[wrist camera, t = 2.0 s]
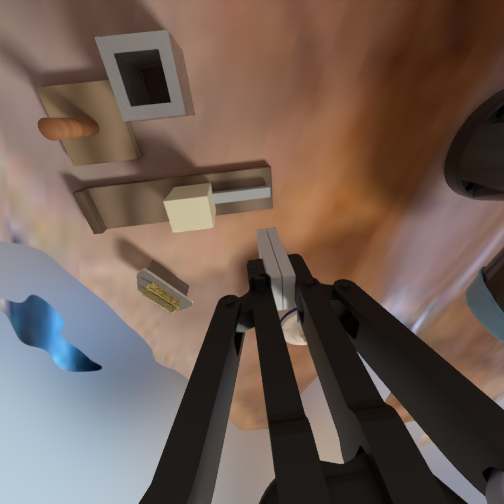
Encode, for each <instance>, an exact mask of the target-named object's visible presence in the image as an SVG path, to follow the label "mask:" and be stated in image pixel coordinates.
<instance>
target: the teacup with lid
mask: <svg viewBox="0 0 504 504" xmlns="http://www.w3.org/2000/svg"><path fill="white" fill-rule="evenodd" d="M278 314H279V318H280V322H281V326H282V329H283V333H284V337H285V341H286V342H288V343H291V344H294V345H306V344H307V342H306V339H305V336H304V333H303V330H302V327H301V324H300V321H299V323H297V306H296V303H295V308H293V309H285V310H284V309H283V310H278Z"/></svg>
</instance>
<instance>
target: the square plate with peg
mask: <svg viewBox="0 0 504 504" xmlns="http://www.w3.org/2000/svg"><path fill="white" fill-rule="evenodd" d="M35 89H36V91H37V93H38V95H39V97H40V99H41V101H42V103H43V105H44V107H45V109H46V111H47V113H48V115H49V117H50V118H41V119H40V120H39V121H38V128H39V131H40V132H41V134H42V135H43V136H44V137H46V138H47V139H49V140H53V141H55V140H61V141H62V143H63V145H64V147H65V149H66V151H67V153H68V156H69V158H70V160H71V162H72V164H73V166H81V165H90V164H98V163H107V162H115V161H124V160H133V159H139V158H141V157H142V156H141V153H140V150H139V147H138V144H137V141H136V138H135V135H134V132H133V129H132V126H131V123H130V121H126V122H124V121H123V118H122V115H121V113H120V110H119V107H118V104H117V101H116V98H115V95H114V92H113V90H112V87H111V84H110V81H109V80H103V81H94V82H84V83H75V84H65V85H56V86H46V87H37V88H35Z"/></svg>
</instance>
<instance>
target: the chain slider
mask: <svg viewBox="0 0 504 504" xmlns="http://www.w3.org/2000/svg"><path fill="white" fill-rule="evenodd" d="M267 197H270V186H269V185H267V186H259V187H250V188H242V189H234V190H226V191H217V192H212V187H211V183H204V184H196V185H188V186H179V187H174V188H173V189H172V191H171V192H170V193H169V195H168V196H167V197H166V199H165V200H164V201H163V202H164V205H165V208H166V212H167V215H168V218H169V221H170V224H171V227H172V230H173V233H175V232H183V231H191V230H199V229H207V228H214V221H215V214H216V208H215V204H218V203H227V202H235V201H243V200H251V199H259V198H267Z"/></svg>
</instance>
